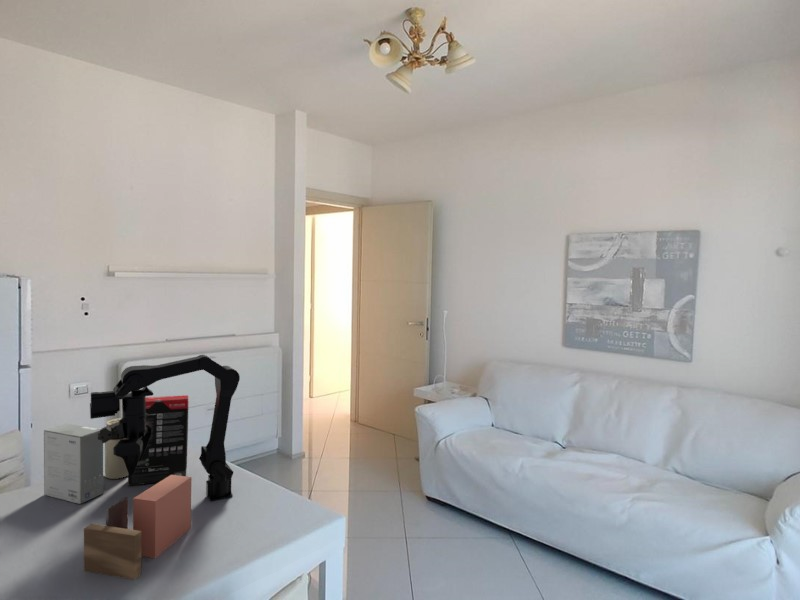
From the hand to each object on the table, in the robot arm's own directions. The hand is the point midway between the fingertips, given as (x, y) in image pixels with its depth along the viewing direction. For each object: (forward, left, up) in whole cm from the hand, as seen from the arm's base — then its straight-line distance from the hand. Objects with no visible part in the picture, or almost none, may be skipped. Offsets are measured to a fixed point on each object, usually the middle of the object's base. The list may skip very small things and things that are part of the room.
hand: (135, 467), depth 134 cm
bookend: (+6, +21, -13) cm, 26 cm away
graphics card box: (-8, -21, -14) cm, 26 cm away
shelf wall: (+6, +27, -13) cm, 31 cm away
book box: (-5, +18, -13) cm, 23 cm away
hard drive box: (+15, -21, -14) cm, 29 cm away
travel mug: (+3, -31, -14) cm, 34 cm away
